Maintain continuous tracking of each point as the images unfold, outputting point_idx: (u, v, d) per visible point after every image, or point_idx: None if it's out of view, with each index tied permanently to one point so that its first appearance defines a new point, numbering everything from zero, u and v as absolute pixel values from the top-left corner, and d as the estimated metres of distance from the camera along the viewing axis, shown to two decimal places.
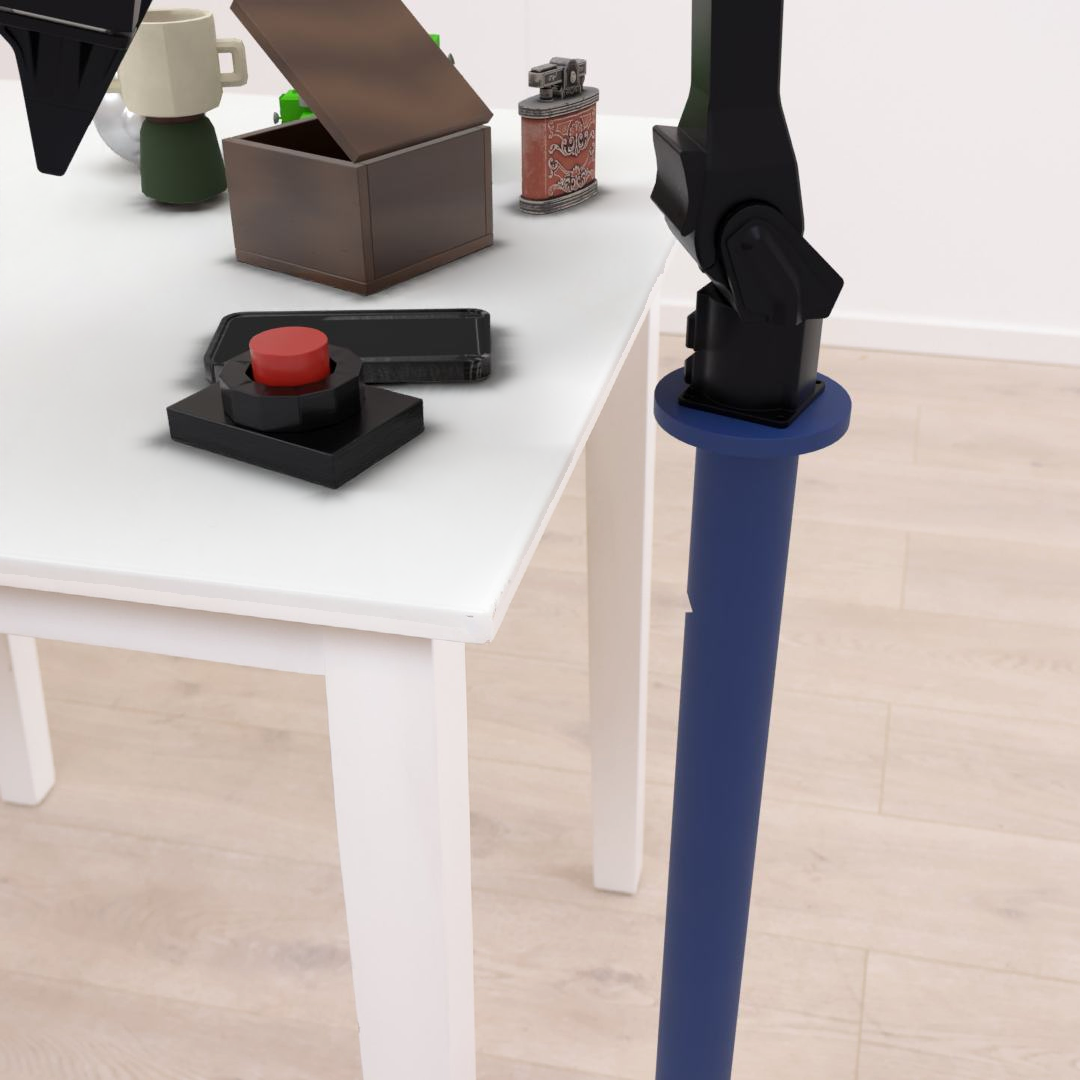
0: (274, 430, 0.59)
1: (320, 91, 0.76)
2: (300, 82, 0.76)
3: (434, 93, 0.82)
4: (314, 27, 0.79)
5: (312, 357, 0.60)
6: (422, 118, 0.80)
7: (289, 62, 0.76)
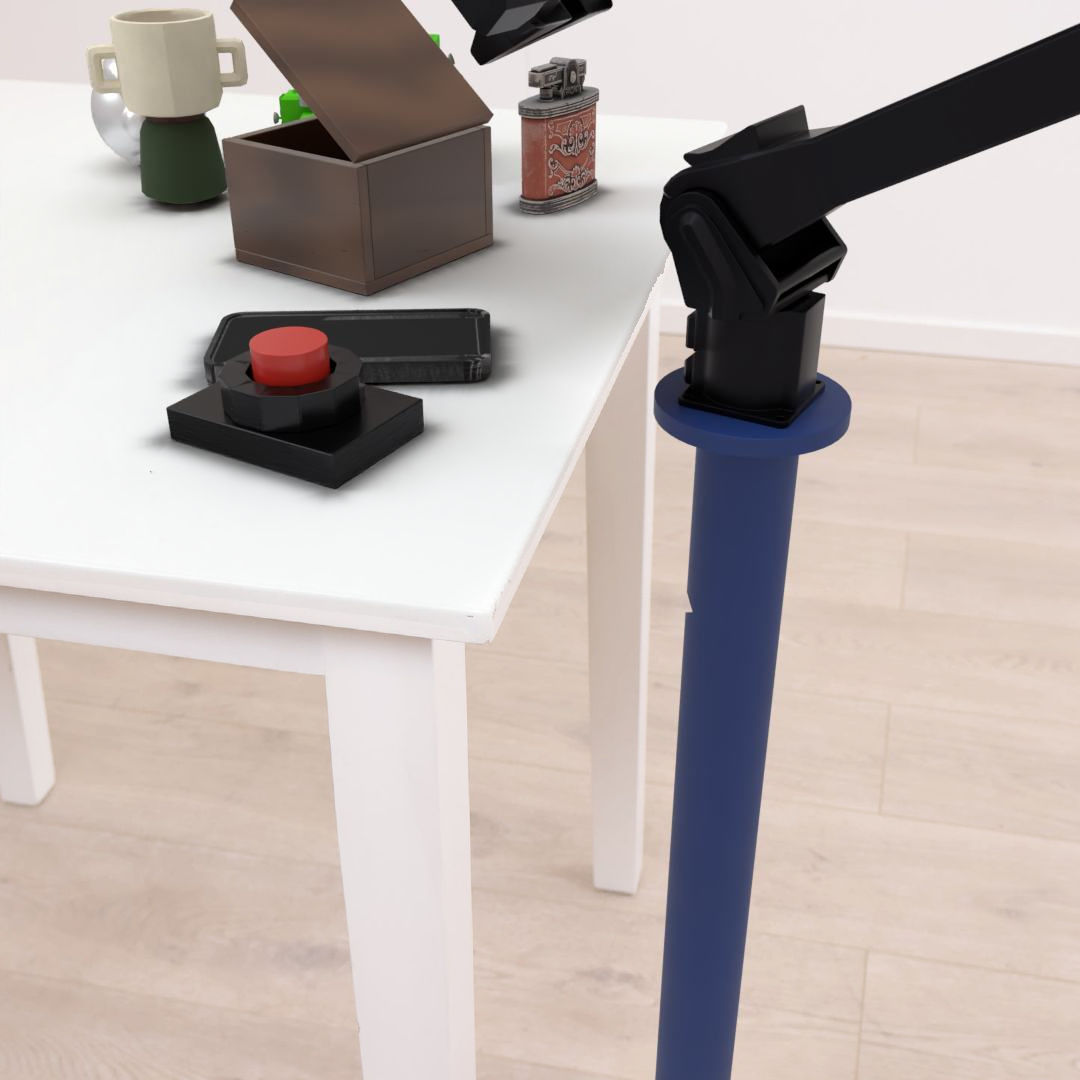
0: (274, 430, 0.59)
1: (320, 91, 0.76)
2: (300, 82, 0.76)
3: (434, 93, 0.82)
4: (314, 27, 0.79)
5: (312, 357, 0.60)
6: (422, 118, 0.80)
7: (289, 62, 0.76)
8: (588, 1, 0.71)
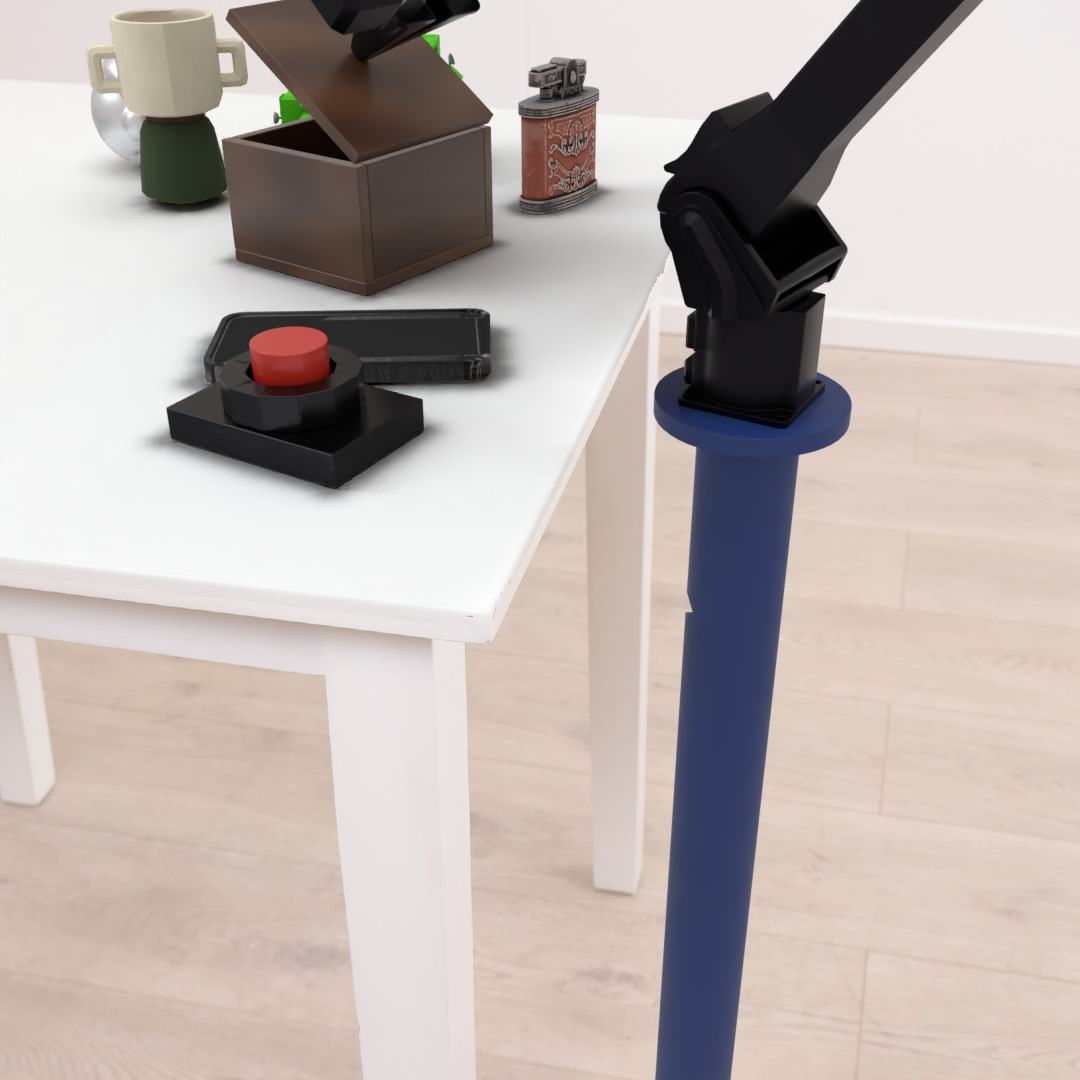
0: (274, 430, 0.59)
1: (318, 95, 0.76)
2: (298, 87, 0.76)
3: (432, 95, 0.82)
4: (310, 35, 0.79)
5: (312, 357, 0.60)
6: (422, 119, 0.80)
7: (286, 68, 0.76)
8: (455, 3, 0.76)
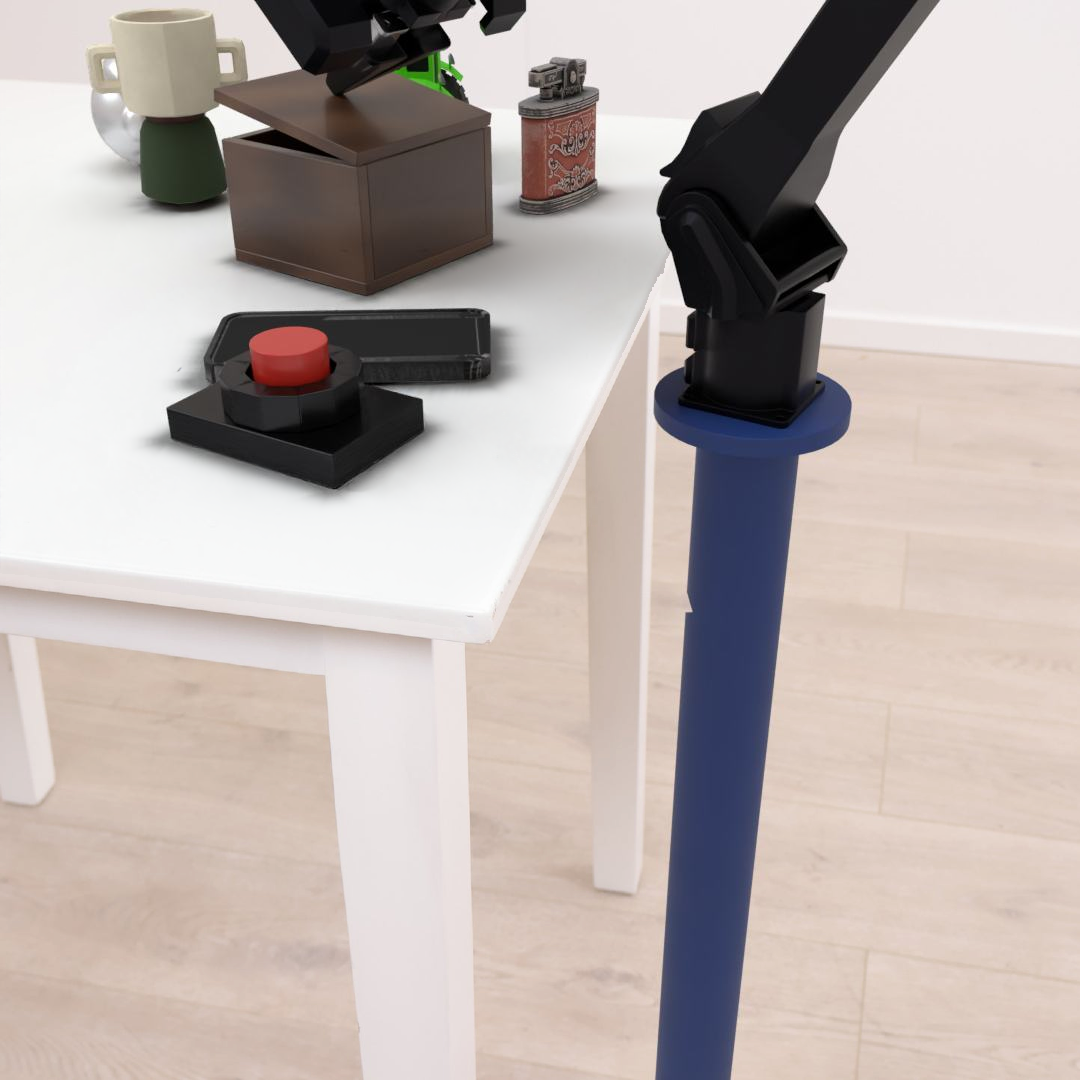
0: (274, 430, 0.59)
1: (309, 124, 0.78)
2: (288, 123, 0.78)
3: (425, 110, 0.83)
4: (295, 92, 0.82)
5: (312, 357, 0.60)
6: (417, 124, 0.80)
7: (274, 113, 0.78)
8: (426, 41, 0.79)
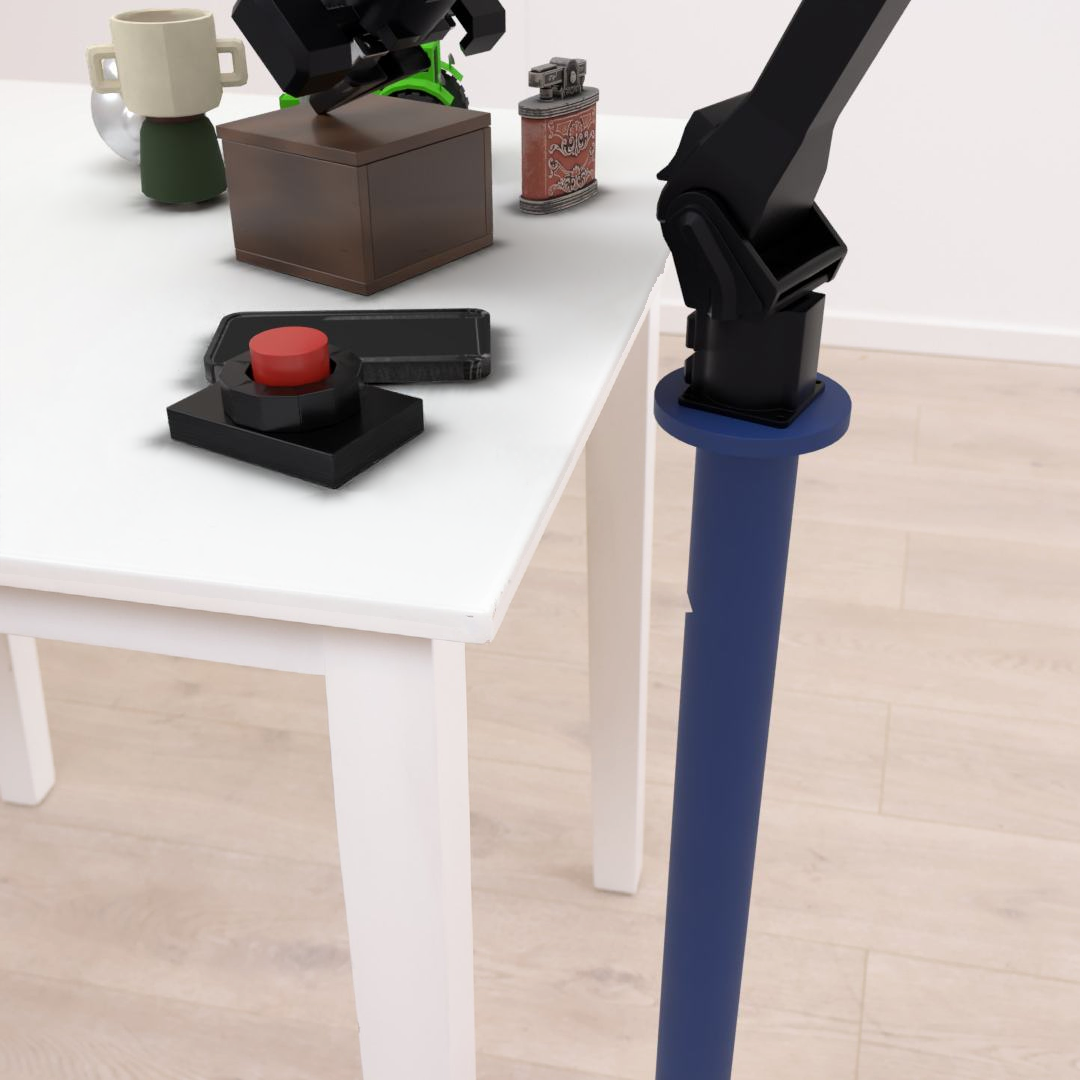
0: (274, 430, 0.59)
1: (308, 139, 0.78)
2: (288, 140, 0.78)
3: (424, 117, 0.83)
4: (295, 119, 0.83)
5: (312, 357, 0.60)
6: (416, 128, 0.81)
7: (274, 135, 0.79)
8: (406, 62, 0.80)
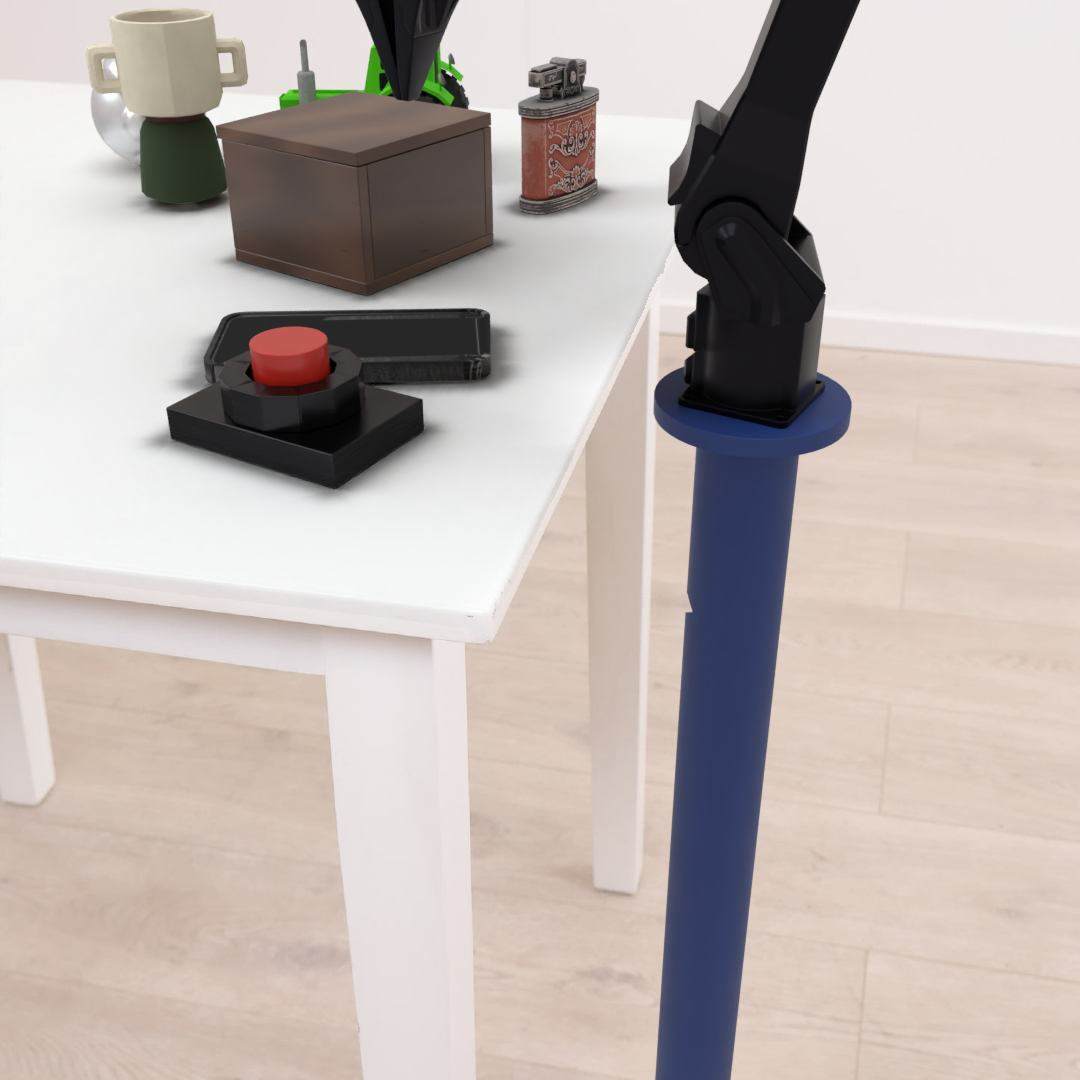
0: (274, 430, 0.59)
1: (308, 139, 0.78)
2: (288, 140, 0.78)
3: (424, 117, 0.83)
4: (295, 119, 0.83)
5: (312, 357, 0.60)
6: (416, 128, 0.81)
7: (274, 135, 0.79)
8: None
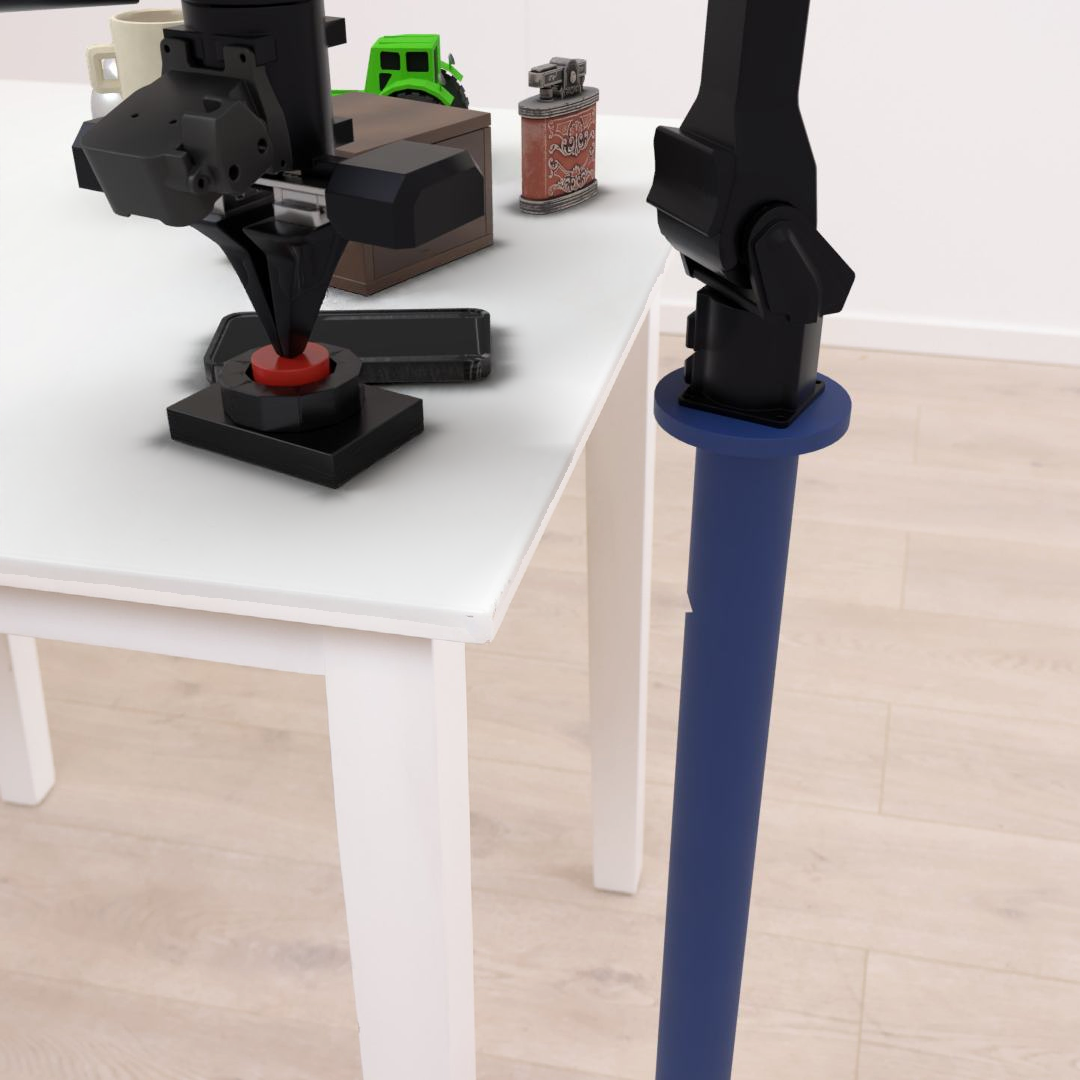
0: (274, 430, 0.59)
1: None
2: None
3: (424, 117, 0.83)
4: None
5: (313, 372, 0.60)
6: (416, 128, 0.81)
7: None
8: None
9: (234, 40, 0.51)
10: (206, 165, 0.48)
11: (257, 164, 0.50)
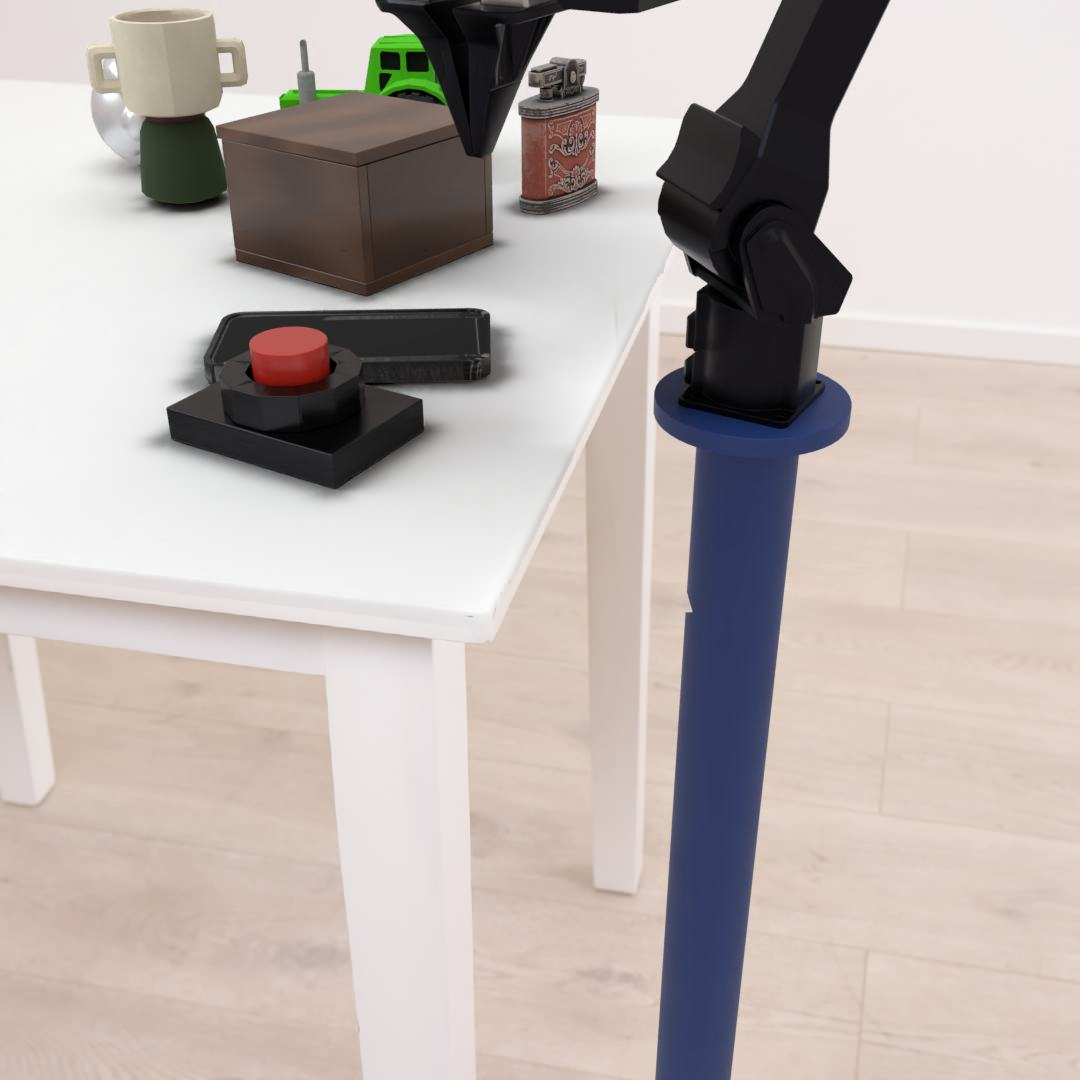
0: (274, 430, 0.59)
1: (308, 139, 0.78)
2: (288, 140, 0.78)
3: (424, 117, 0.83)
4: (295, 119, 0.83)
5: (312, 357, 0.60)
6: (416, 128, 0.81)
7: (274, 135, 0.79)
8: None
9: None
10: None
11: None
